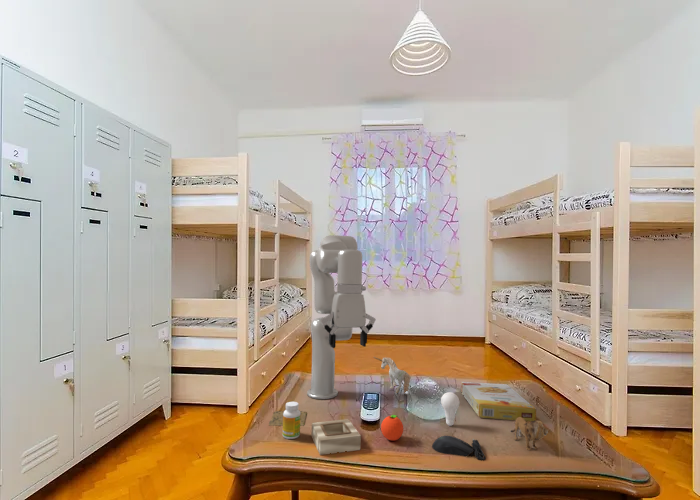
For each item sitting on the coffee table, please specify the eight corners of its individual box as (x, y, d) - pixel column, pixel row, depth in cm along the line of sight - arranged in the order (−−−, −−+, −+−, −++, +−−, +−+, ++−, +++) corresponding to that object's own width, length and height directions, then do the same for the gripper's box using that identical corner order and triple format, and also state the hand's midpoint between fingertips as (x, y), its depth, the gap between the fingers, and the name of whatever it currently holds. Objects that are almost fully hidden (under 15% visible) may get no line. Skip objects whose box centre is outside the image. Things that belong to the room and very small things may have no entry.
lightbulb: (460, 424, 126) (460, 391, 126) (457, 431, 120) (458, 396, 121) (442, 420, 128) (442, 388, 129) (439, 427, 123) (439, 393, 123)
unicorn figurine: (382, 383, 168) (383, 354, 169) (418, 395, 154) (418, 362, 155) (372, 387, 163) (373, 356, 164) (408, 399, 149) (408, 365, 150)
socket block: (311, 436, 114) (311, 422, 114) (348, 431, 118) (348, 418, 118) (319, 455, 103) (320, 439, 103) (360, 449, 106) (360, 434, 107)
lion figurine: (551, 454, 106) (551, 423, 107) (535, 456, 105) (535, 424, 105) (517, 432, 120) (517, 404, 121) (503, 433, 119) (503, 405, 120)
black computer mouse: (431, 440, 114) (431, 428, 114) (480, 445, 112) (480, 432, 112) (432, 457, 104) (433, 443, 104) (486, 462, 102) (486, 448, 102)
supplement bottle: (296, 440, 111) (297, 407, 112) (279, 438, 112) (280, 406, 113) (302, 432, 116) (303, 401, 117) (286, 430, 117) (287, 399, 118)
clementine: (387, 431, 119) (387, 409, 119) (407, 436, 116) (407, 413, 116) (377, 441, 112) (377, 417, 112) (398, 446, 109) (399, 422, 109)
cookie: (267, 427, 121) (267, 424, 121) (274, 412, 133) (274, 410, 133) (304, 427, 121) (304, 424, 121) (307, 413, 133) (307, 410, 133)
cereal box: (479, 403, 131) (460, 379, 159) (479, 419, 131) (459, 392, 159) (537, 407, 130) (507, 382, 158) (537, 423, 130) (507, 396, 158)
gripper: (370, 289, 119) (369, 343, 118) (318, 289, 113) (317, 345, 112) (380, 290, 111) (379, 347, 110) (325, 290, 106) (323, 350, 105)
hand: (348, 346), depth 111 cm, fingers open, 9 cm apart
